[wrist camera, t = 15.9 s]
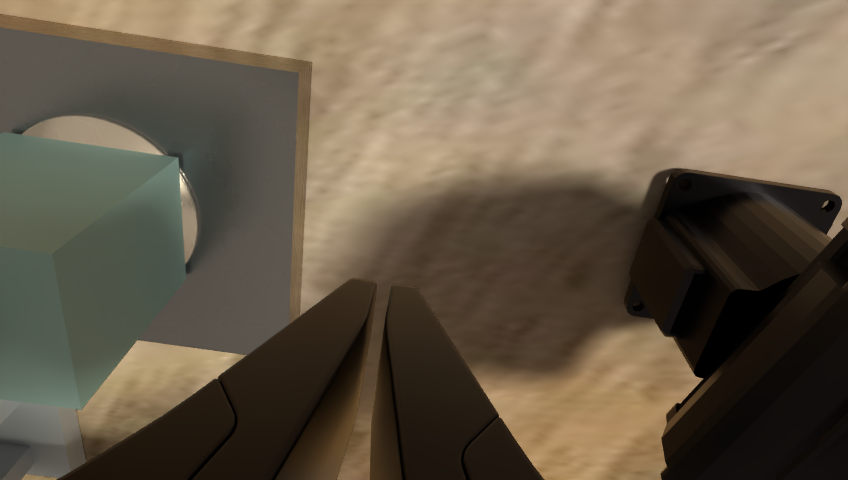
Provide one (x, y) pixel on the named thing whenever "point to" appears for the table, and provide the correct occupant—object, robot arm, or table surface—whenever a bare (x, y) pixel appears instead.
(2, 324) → the block
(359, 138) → the table surface
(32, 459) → the lever stand
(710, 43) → the table surface
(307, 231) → the table surface
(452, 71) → the table surface
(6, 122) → the press bed
